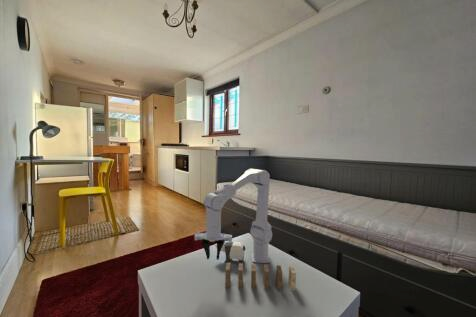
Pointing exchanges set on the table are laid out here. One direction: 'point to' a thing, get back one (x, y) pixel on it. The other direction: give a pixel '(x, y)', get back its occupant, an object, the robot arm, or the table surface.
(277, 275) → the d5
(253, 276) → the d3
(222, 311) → the table surface
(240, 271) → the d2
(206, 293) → the table surface
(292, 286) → the maple tile
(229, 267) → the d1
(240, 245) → the giant panda
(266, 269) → the d4
